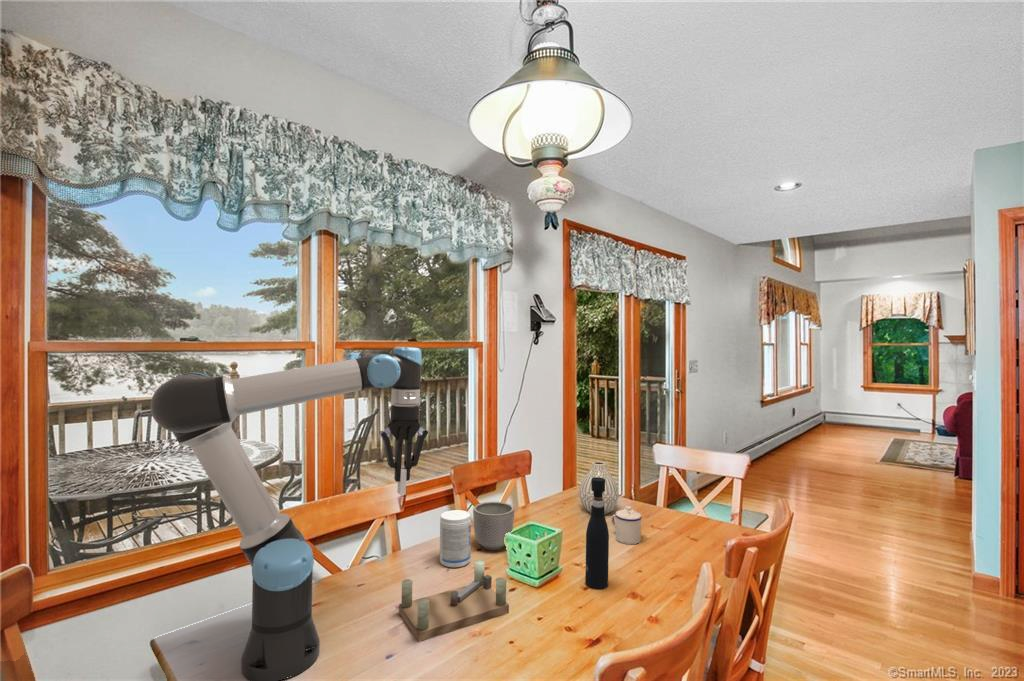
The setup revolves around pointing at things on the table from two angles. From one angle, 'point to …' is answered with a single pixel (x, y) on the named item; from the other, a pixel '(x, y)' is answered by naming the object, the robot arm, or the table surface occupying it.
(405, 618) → the wooden peg board
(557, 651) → the table surface
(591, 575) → the wine bottle
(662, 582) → the table surface
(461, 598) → the hinged leg
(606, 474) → the vase
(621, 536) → the teacup with lid
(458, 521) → the supplement tub
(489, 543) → the planter
